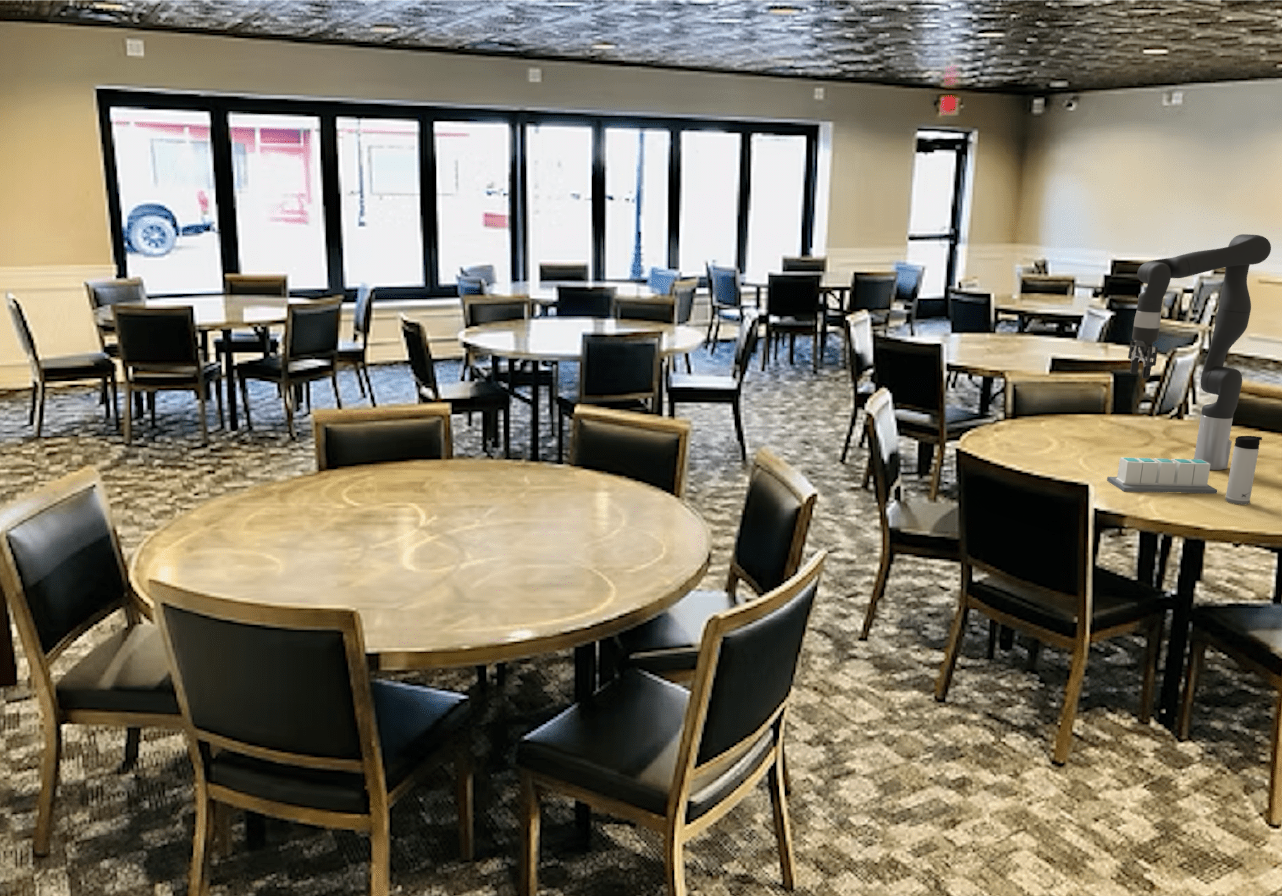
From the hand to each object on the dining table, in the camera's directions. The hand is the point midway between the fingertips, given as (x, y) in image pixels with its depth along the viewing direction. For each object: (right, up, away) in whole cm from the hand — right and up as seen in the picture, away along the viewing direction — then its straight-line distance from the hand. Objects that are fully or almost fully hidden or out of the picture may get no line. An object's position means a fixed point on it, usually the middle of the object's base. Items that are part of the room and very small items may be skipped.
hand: (1139, 375), depth 339 cm
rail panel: (-1, -35, -16) cm, 38 cm away
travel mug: (+15, -39, -29) cm, 51 cm away
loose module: (-1, -33, -16) cm, 37 cm away
